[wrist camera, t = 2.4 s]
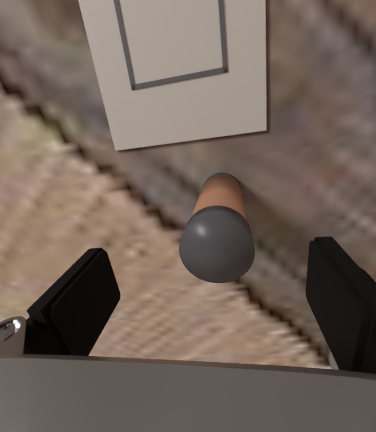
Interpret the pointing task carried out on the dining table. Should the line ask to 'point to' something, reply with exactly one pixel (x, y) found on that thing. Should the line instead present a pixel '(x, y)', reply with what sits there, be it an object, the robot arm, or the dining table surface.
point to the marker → (218, 233)
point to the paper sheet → (178, 68)
